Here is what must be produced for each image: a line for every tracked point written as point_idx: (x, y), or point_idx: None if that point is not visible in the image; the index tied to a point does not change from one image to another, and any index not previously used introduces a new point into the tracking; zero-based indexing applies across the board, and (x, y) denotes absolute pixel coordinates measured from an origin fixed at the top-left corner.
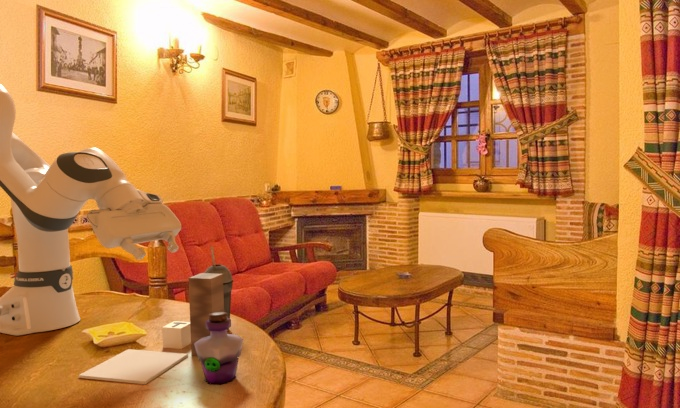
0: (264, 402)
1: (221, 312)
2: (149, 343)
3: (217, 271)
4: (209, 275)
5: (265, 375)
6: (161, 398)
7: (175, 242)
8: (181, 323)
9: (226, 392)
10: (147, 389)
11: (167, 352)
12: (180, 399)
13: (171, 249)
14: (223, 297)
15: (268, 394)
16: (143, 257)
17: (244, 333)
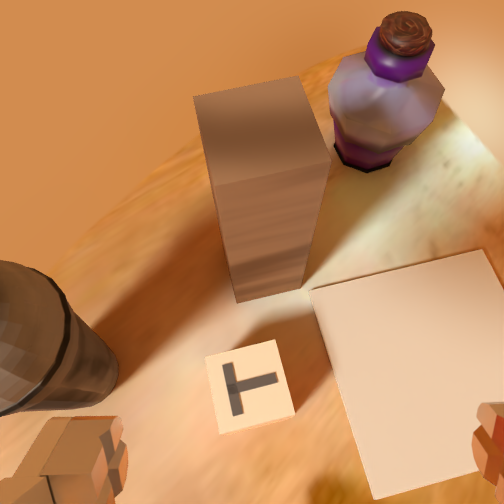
0: None
1: (395, 24)
2: (284, 500)
3: (2, 280)
4: (246, 119)
5: (308, 93)
6: (493, 177)
7: (28, 460)
8: (235, 377)
9: None
10: (489, 228)
11: (329, 350)
12: (472, 147)
13: (117, 457)
14: (206, 163)
15: None
16: (476, 434)
17: (93, 282)
